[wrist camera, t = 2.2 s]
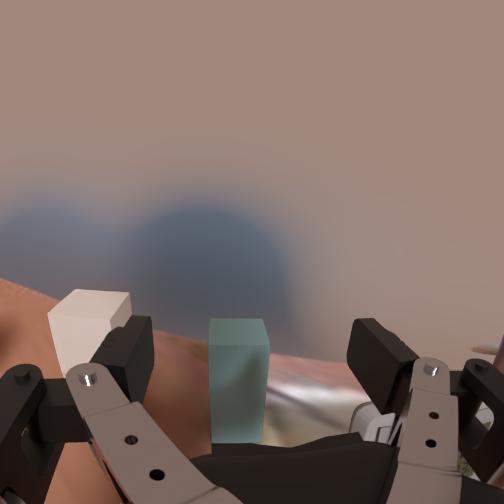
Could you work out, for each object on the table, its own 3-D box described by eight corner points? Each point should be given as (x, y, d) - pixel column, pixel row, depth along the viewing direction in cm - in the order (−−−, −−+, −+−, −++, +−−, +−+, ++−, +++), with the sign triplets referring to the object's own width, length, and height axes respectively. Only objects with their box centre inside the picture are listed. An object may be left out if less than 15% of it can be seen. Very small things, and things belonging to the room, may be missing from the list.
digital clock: (314, 533, 14) (355, 454, 12) (328, 453, 23) (355, 361, 20) (496, 517, 10) (570, 429, 8) (478, 452, 19) (525, 365, 16)
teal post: (255, 411, 29) (262, 318, 26) (260, 442, 24) (270, 344, 22) (211, 411, 28) (209, 318, 26) (211, 443, 24) (208, 344, 21)
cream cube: (135, 347, 29) (129, 292, 27) (120, 381, 23) (109, 319, 21) (84, 341, 28) (75, 289, 27) (62, 372, 22) (47, 313, 21)
